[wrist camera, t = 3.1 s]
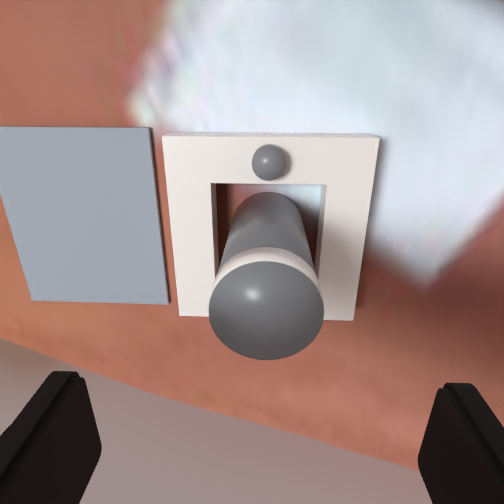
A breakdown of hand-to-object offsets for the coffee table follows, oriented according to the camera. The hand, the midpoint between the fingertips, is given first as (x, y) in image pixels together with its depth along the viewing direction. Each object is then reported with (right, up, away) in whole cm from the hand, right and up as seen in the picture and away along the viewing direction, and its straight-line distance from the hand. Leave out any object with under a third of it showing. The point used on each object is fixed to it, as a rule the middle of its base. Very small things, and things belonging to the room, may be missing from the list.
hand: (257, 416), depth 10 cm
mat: (-11, +6, +14) cm, 19 cm away
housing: (+1, +6, +13) cm, 15 cm away
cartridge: (+1, +6, +13) cm, 15 cm away
